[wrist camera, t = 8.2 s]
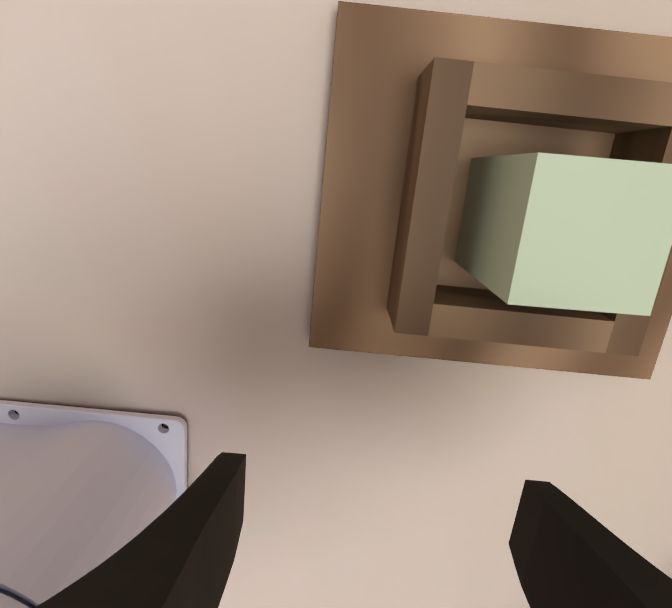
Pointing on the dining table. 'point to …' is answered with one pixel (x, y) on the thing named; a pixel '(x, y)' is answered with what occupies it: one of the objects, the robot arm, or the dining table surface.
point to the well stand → (452, 177)
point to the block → (568, 230)
